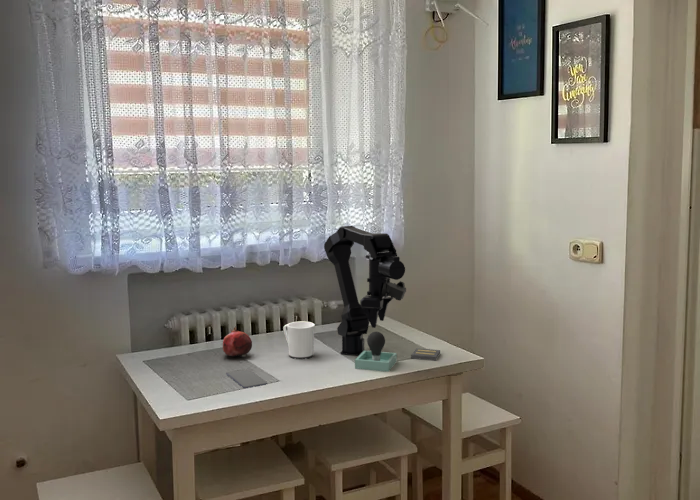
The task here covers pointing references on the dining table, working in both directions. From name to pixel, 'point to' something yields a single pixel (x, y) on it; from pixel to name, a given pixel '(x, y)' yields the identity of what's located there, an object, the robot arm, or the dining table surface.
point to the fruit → (237, 343)
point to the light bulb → (376, 344)
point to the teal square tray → (368, 364)
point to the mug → (300, 339)
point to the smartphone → (246, 378)
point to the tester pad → (425, 354)
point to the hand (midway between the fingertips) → (377, 324)
